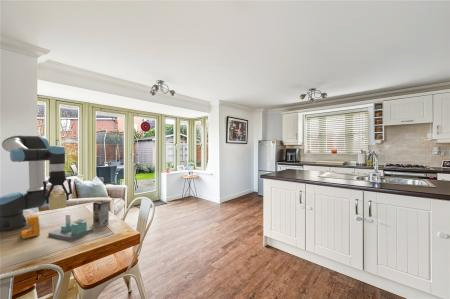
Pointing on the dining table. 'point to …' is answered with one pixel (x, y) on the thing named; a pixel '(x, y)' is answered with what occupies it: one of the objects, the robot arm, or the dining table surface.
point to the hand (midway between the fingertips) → (57, 206)
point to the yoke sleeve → (57, 200)
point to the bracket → (35, 227)
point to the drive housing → (71, 229)
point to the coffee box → (100, 213)
